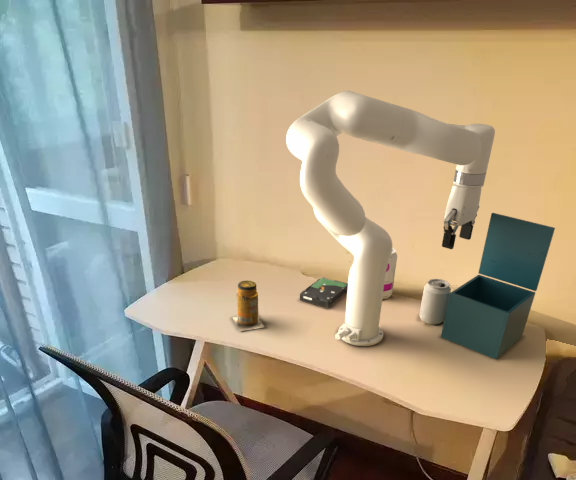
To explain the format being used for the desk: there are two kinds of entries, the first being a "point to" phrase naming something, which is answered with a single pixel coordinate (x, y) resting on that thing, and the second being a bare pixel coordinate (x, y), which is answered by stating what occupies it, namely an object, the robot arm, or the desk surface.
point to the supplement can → (390, 275)
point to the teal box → (487, 315)
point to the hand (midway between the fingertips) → (456, 243)
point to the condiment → (247, 306)
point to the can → (435, 301)
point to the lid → (515, 250)
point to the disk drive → (324, 292)
